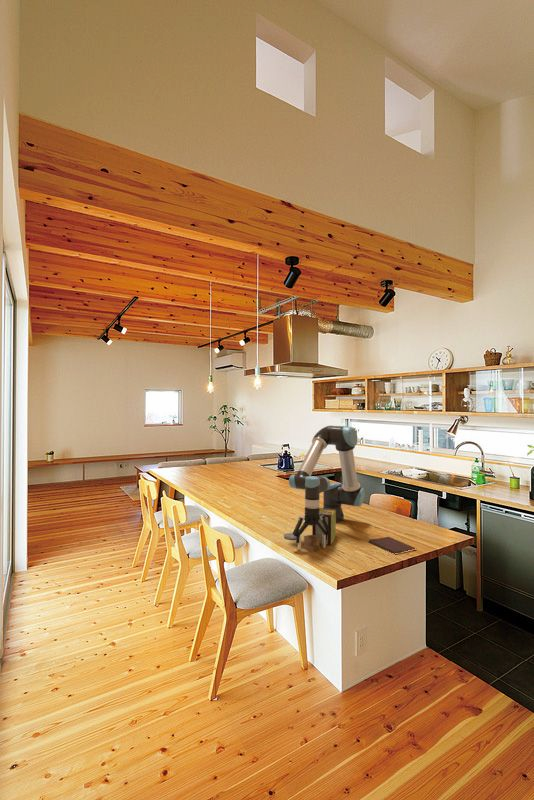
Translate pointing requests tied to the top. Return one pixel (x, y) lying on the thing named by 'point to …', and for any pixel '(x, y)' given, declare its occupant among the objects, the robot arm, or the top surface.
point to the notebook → (391, 545)
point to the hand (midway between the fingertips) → (311, 548)
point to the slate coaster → (290, 536)
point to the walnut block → (311, 542)
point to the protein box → (331, 522)
